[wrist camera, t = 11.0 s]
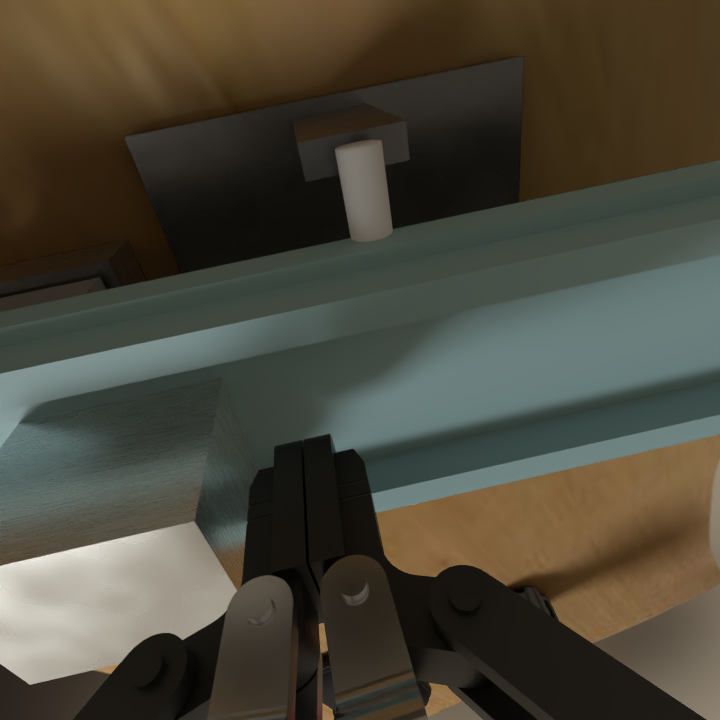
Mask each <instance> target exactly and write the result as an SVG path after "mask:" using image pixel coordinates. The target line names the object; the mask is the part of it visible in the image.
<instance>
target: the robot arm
mask: <svg viewBox="0 0 720 720" xmlns="http://www.w3.org/2000/svg"><path fill="white" fill-rule="evenodd" d="M248 506H249V509H248V514H247V522H248V524H247V526H246V538H245V550H244V562H243V574H242V583H241V587H240V589H239V590H238V591H237V592H236V593H235V594H234V596H233V597H232V599H231V601H230V603H229V605H228V607H227V611H226V612H225V613H224V614H223V615H222V616H220V617H219V618H218V619H217V620H215V621H214V622H212V623H211V624H209V625H207V626H206V627H204V628H202V629H200V630H199V631H197V632H195V633H194V634H192V635H190V636H188V637H187V638H185V639H183V640H182V639H181V638H179V637H178V636H177V635H175V634H172V633H159V634H156V635H153V636H150V637H148V638H146V639H145V640H143V641H142V642H140V643H139V644H138V645H137V646H135V647H134V648H133V649H132V650H131V651H130V652H129V653H128V655H127V656H126V657H125V658H124V659H123V661H122V662H121V663H120V664H119V665H118V666H117V668H116V669H115V670H114V671H113V672H112V674H111V675H110V676H109V677H108V678H107V680H106V681H105V682H104V683H103V684H102V686H101V687H100V688H99V689H98V690H97V691H96V693H95V694H94V695H93V696H92V698H91V699H90V700H89V701H88V702H87V703H86V705H85V706H84V707H83V708H82V709H81V711H80V712H79V713H78V714H77V715H76V717H75V718H74V719H73V720H322V692H323V663H322V655H321V652H320V640H319V624H320V623H324V625H325V632H326V639H327V646H328V652H329V659H330V666H331V673H332V680H333V687H334V694H335V702H336V712H335V715H334V720H428V717H427V714H426V710H425V707H424V704H423V700H422V697H421V693H420V690H419V687H418V684H417V681H416V680H418V681H423V682H429V683H435V684H441V685H447V686H448V687H449V689H450V690H451V691H452V692H453V693H455V694H456V695H457V696H458V697H459V698H460V699H461V700H462V701H463V702H465V703H466V704H467V705H468V706H469V707H470V708H471V709H472V710H473V711H475V712H476V713H477V714H478V715H479V716H480V717H481V718H482V719H483V720H706V719H704V718H703V717H701V716H700V715H698V714H697V713H695V712H694V711H693V710H691V709H689V708H688V707H686V706H685V705H684V704H682V703H681V702H679V701H677V700H676V699H675V698H673V697H671V696H670V695H668V694H667V693H666V692H664V691H662V690H661V689H660V688H658V687H657V686H655V685H654V684H652V683H651V682H649V681H647V680H646V679H645V678H643V677H642V676H640V675H638V674H637V673H636V672H634V671H633V670H631V669H630V668H628V667H627V666H625V665H623V664H622V663H621V662H619V661H618V660H616V659H614V658H613V657H612V656H610V655H608V654H607V653H606V652H604V651H602V650H601V649H600V648H598V647H597V646H595V645H593V644H592V643H591V642H589V641H588V640H586V639H585V638H583V637H582V636H580V635H579V634H577V633H576V632H574V631H573V630H571V629H570V628H568V627H567V626H565V625H564V624H562V623H561V622H559V621H558V620H556V619H555V618H553V617H552V616H550V615H549V614H547V613H546V612H544V611H543V610H541V609H540V608H538V607H537V606H535V605H534V604H532V603H531V602H529V601H528V600H526V599H525V598H523V597H522V596H520V595H519V594H517V593H516V592H514V591H513V590H511V589H510V588H508V587H507V586H505V585H504V584H502V583H501V582H499V581H498V580H496V579H495V578H493V577H492V576H490V575H489V574H487V573H486V572H484V571H482V570H481V569H478V568H476V567H473V566H468V565H457V566H453V567H449V568H447V569H445V570H443V571H442V572H441V573H439V575H438V576H437V577H428V576H419V575H412V574H408V573H405V572H403V571H401V570H399V569H397V568H396V567H394V566H393V565H392V564H391V563H390V562H389V561H388V560H387V558H386V557H385V555H384V551H383V546H382V541H381V536H380V531H379V526H378V521H377V517H376V512H375V507H374V502H373V497H372V493H371V489H370V485H369V480H368V476H367V472H366V468H365V463H364V461H363V459H362V458H361V457H360V456H359V455H358V453H357V452H356V451H355V450H354V449H349V450H345V451H340V452H336V450H335V446H334V443H333V439H332V436H331V434H325V435H321V436H317V437H312V438H308V439H304V441H303V440H299V441H295V442H291V443H286V444H282V445H277V446H275V448H274V467H270V468H266V469H261V470H259V471H258V473H257V474H256V476H255V478H254V480H253V482H252V484H251V486H250V490H249V502H248Z"/></svg>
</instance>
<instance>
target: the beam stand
mask: <svg viewBox="0 0 720 720" xmlns="http://www.w3.org/2000/svg"><path fill="white" fill-rule="evenodd" d="M523 64H524V56H514V57H508V58H503V59H498V60H493V61H489V62H484V63H479V64H474V65H469V66H464V67H459V68H454V69H449V70H444V71H439V72H434V73H429V74H424V75H420V76H415V77H410V78H405V79H400V80H395V81H390V82H385V83H380V84H375V85H370V86H365V87H360V88H355V89H351V90H346V91H341V92H336V93H331V94H326V95H321V96H316V97H311V98H306V99H301V100H296V101H291V102H286V103H282V104H277V105H272V106H267V107H262V108H257V109H252V110H247V111H242V112H237V113H232V114H227V115H222V116H217V117H213V118H208V119H203V120H198V121H193V122H188V123H183V124H178V125H173V126H168V127H163V128H158V129H153V130H148V131H144V132H139V133H134V134H130V135H128V136H126V137H124V138H125V141H126V143H127V146H128V148H129V150H130V153H131V155H132V157H133V160H134V162H135V165H136V167H137V169H138V172H139V174H140V177H141V179H142V181H143V184H144V186H145V188H146V191H147V193H148V196H149V198H150V200H151V203H152V205H153V208H154V210H155V212H156V215H157V217H158V219H159V222H160V224H161V227H162V229H163V231H164V234H165V236H166V239H167V241H168V243H169V246H170V248H171V250H172V253H173V255H174V258H175V260H176V262H177V265H178V267H179V270H180V272H181V274H183V273H188V272H193V271H197V270H202V269H207V268H212V267H216V266H221V265H226V264H231V263H235V262H240V261H245V260H249V259H254V258H259V257H264V256H268V255H273V254H278V253H283V252H287V251H292V250H297V249H301V248H306V247H311V246H316V245H320V244H325V243H330V242H335V241H339V240H344V239H349V238H351V236H350V231H349V225H348V220H347V214H346V209H345V203H344V198H343V192H342V187H341V181H340V175H339V170H338V164H337V159H336V153H335V149H336V148H337V147H340V146H342V145H345V144H349V143H353V142H358V141H365V140H381V141H382V148H383V156H384V164H385V172H386V180H387V188H388V196H389V204H390V212H391V220H392V228H393V229H396V228H401V227H405V226H410V225H415V224H420V223H424V222H429V221H434V220H439V219H443V218H448V217H453V216H457V215H462V214H467V213H472V212H476V211H481V210H486V209H491V208H495V207H500V206H505V205H509V204H514V203H519V179H520V150H521V121H522V93H523ZM98 277H100V278H101V280H102V282H103V284H104V286H105V288H106V290H108V289H112V288H117V287H122V286H127V285H131V284H136V283H141V282H145V281H146V279H145V276H144V274H143V272H142V270H141V268H140V266H139V264H138V262H137V259H136V257H135V255H134V253H133V251H132V249H131V247H130V245H129V242H128V240H127V239H126V240H122V241H117V242H112V243H107V244H102V245H98V246H93V247H88V248H83V249H79V250H74V251H69V252H64V253H60V254H55V255H50V256H45V257H40V258H36V259H31V260H26V261H21V262H17V263H12V264H7V265H2V266H0V298H3V297H8V296H13V295H18V294H22V293H27V292H32V291H37V290H41V289H46V288H51V287H56V286H60V285H65V284H70V283H75V282H79V281H84V280H89V279H94V278H98Z"/></svg>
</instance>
